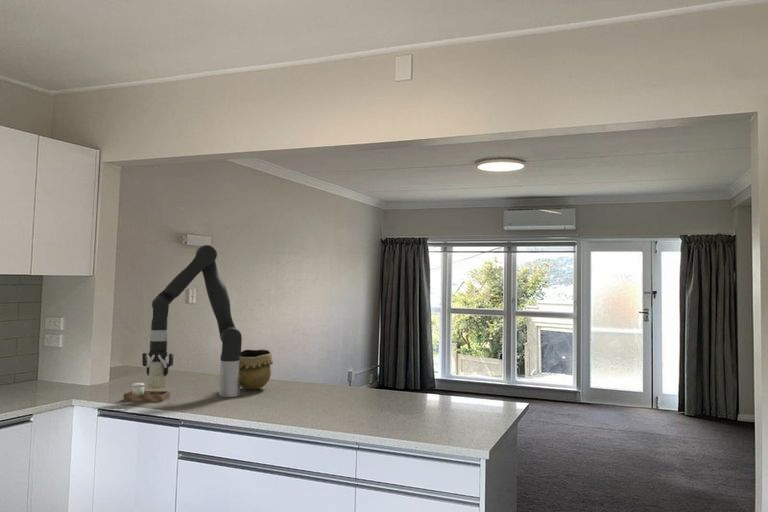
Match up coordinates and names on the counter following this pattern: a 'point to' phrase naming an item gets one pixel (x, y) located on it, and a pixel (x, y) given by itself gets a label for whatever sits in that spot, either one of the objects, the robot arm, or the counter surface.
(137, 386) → the jar
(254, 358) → the clay pot
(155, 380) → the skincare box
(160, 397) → the caddy
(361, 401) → the counter surface
